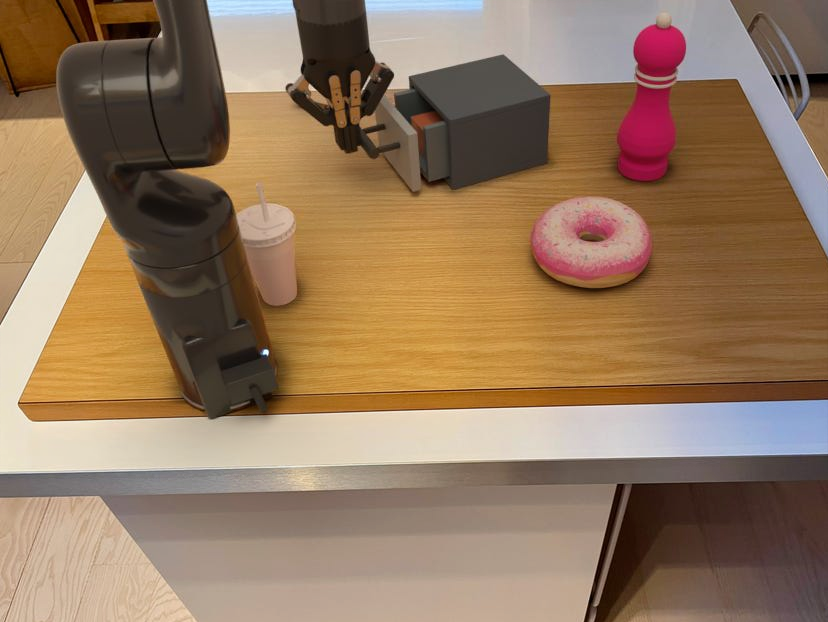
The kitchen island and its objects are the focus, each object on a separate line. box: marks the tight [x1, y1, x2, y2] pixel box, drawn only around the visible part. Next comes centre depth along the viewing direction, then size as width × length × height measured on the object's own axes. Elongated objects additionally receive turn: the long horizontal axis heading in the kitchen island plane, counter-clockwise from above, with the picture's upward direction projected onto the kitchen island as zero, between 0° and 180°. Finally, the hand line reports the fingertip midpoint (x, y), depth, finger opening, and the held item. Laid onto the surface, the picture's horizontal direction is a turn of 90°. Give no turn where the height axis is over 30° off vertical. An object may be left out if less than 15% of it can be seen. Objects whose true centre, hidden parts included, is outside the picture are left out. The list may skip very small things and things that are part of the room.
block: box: [411, 110, 445, 161], centre depth 104 cm, size 4×4×4 cm
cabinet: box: [408, 53, 552, 191], centre depth 105 cm, size 14×13×10 cm
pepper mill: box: [616, 11, 687, 182], centre depth 99 cm, size 7×7×20 cm
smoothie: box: [236, 182, 298, 307], centre depth 84 cm, size 6×6×14 cm
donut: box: [530, 195, 653, 289], centre depth 91 cm, size 14×13×5 cm
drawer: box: [360, 88, 450, 193], centre depth 103 cm, size 17×11×8 cm
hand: (349, 149), depth 100 cm, fingers closed
